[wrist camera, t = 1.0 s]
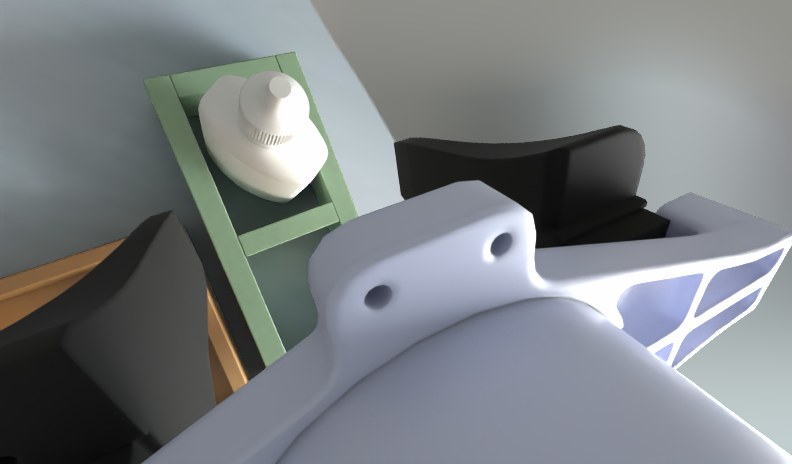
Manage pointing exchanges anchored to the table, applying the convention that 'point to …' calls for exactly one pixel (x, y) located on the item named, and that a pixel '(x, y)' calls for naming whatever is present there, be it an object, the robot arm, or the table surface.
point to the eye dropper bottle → (262, 134)
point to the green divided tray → (173, 107)
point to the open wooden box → (41, 284)
